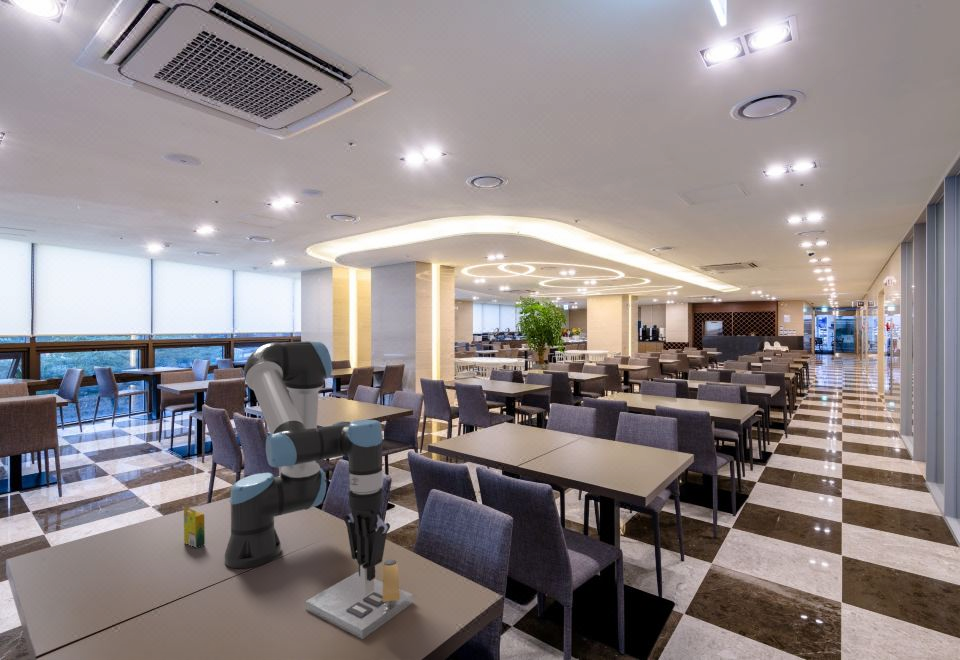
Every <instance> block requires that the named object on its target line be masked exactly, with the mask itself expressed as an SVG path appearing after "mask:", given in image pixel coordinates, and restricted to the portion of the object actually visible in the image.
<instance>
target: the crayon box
mask: <svg viewBox="0 0 960 660" xmlns="http://www.w3.org/2000/svg"><path fill="white" fill-rule="evenodd" d="M183 533H184V534H183V543H184V542H185V543H187V544H189V545H188V546H190V545H191V546H190V547H192V546H194V547H198V548H200V547H202V546H201V545H203V546H205V545H206V543H205V538H206V537H205V535H206V534H205V514H204V513H201V512H199V511H196V510H194V509H192V508H188V507H186V506H184V508H183ZM187 544H186V545H187ZM204 544H205V545H204ZM199 546H200V547H199ZM194 547H193V548H194Z"/></svg>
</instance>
